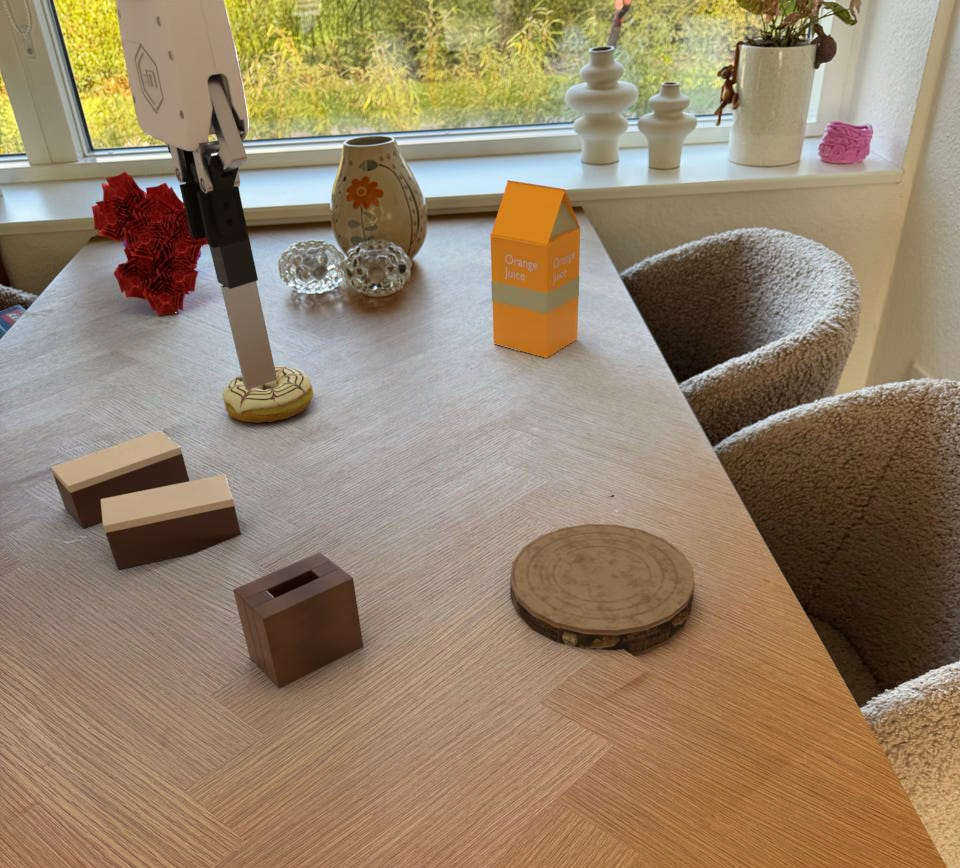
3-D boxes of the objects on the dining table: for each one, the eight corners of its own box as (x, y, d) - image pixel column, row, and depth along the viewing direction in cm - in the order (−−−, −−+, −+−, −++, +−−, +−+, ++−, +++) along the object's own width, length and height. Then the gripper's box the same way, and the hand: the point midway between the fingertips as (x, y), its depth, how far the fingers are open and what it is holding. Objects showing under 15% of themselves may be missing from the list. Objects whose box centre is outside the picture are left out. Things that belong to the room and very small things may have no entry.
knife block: (281, 697, 76) (263, 619, 71) (251, 666, 80) (232, 589, 75) (365, 655, 80) (353, 577, 75) (333, 627, 83) (320, 551, 78)
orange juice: (546, 358, 126) (547, 196, 113) (492, 344, 130) (487, 187, 117) (578, 339, 130) (583, 181, 118) (525, 326, 135) (524, 172, 122)
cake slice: (118, 570, 91) (102, 525, 88) (115, 542, 95) (100, 498, 92) (243, 542, 94) (232, 498, 91) (235, 516, 98) (225, 473, 95)
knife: (252, 393, 82) (199, 169, 71) (240, 385, 84) (186, 164, 72) (282, 382, 84) (235, 160, 72) (270, 375, 85) (222, 155, 73)
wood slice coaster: (729, 604, 84) (734, 576, 82) (599, 685, 76) (600, 657, 74) (601, 531, 93) (602, 505, 91) (474, 596, 86) (472, 569, 84)
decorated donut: (220, 399, 120) (213, 371, 118) (303, 383, 123) (298, 355, 120) (235, 434, 112) (228, 404, 110) (323, 416, 115) (319, 386, 113)
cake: (83, 529, 97) (67, 486, 94) (65, 508, 101) (50, 466, 97) (191, 488, 103) (180, 446, 100) (171, 470, 106) (160, 429, 103)
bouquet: (209, 288, 170) (233, 305, 145) (113, 304, 166) (121, 324, 140) (180, 166, 161) (200, 161, 136) (78, 179, 157) (79, 177, 131)
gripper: (64, -47, 67) (134, 228, 79) (158, -38, 57) (222, 275, 69) (164, -56, 70) (217, 209, 82) (269, -49, 60) (312, 251, 72)
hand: (219, 237), depth 75 cm, fingers closed on knife, 2 cm apart
